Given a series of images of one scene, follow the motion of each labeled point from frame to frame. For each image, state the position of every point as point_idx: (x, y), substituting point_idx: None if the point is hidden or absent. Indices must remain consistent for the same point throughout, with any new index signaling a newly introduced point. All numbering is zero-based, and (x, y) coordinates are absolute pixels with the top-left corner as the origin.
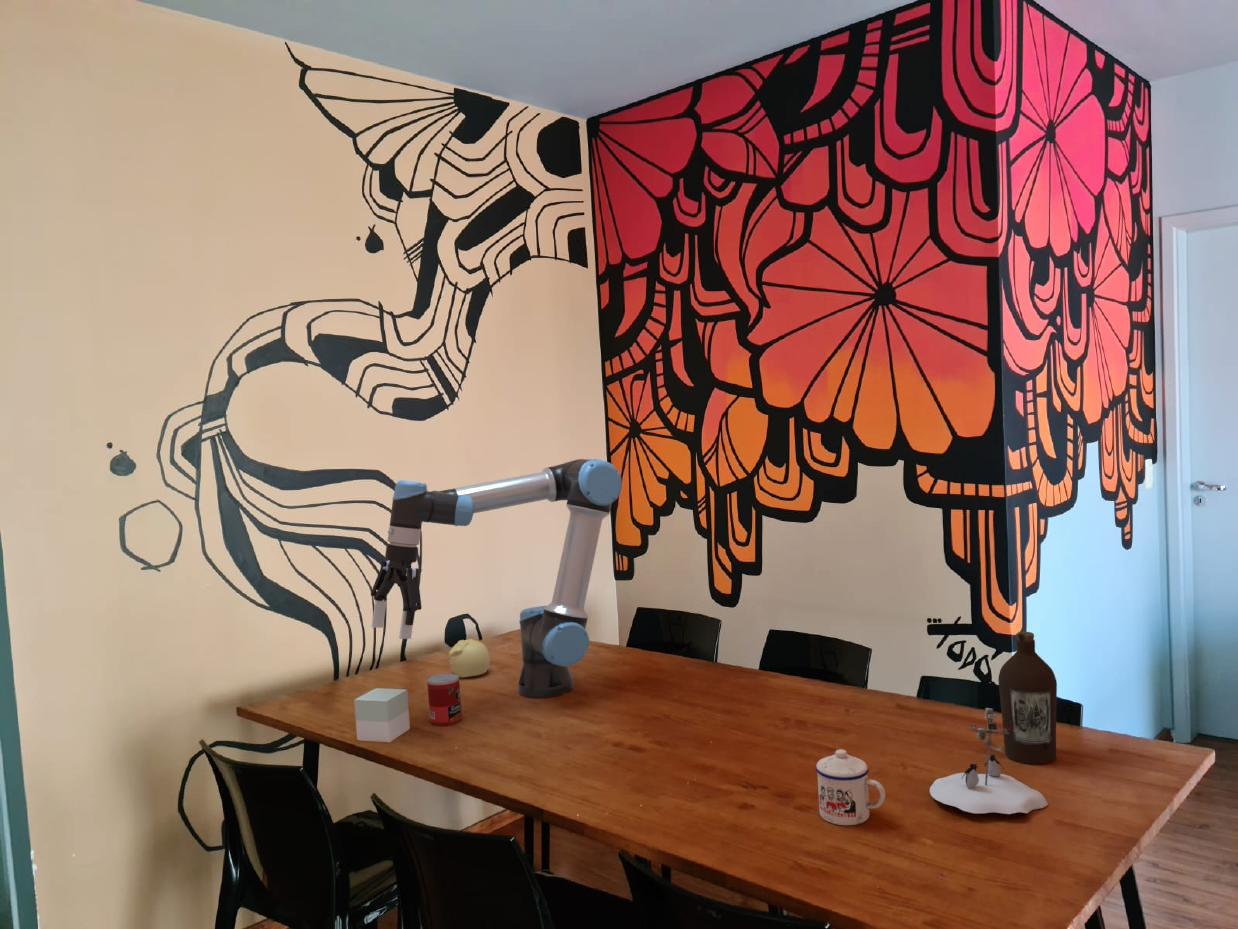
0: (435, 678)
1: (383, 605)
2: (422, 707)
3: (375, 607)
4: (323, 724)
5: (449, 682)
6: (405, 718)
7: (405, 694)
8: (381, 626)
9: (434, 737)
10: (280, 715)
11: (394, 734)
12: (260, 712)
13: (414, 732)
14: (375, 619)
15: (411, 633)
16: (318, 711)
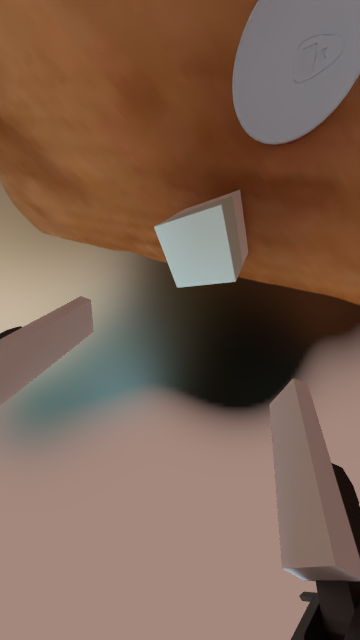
0: (252, 76)
1: (3, 366)
2: (167, 47)
3: (25, 383)
4: (118, 233)
5: (352, 84)
6: (237, 207)
7: (225, 210)
8: (88, 307)
9: (321, 203)
10: (61, 230)
11: (245, 241)
12: (42, 232)
13: (261, 200)
14: (70, 344)
15: (312, 403)
16: (69, 199)
